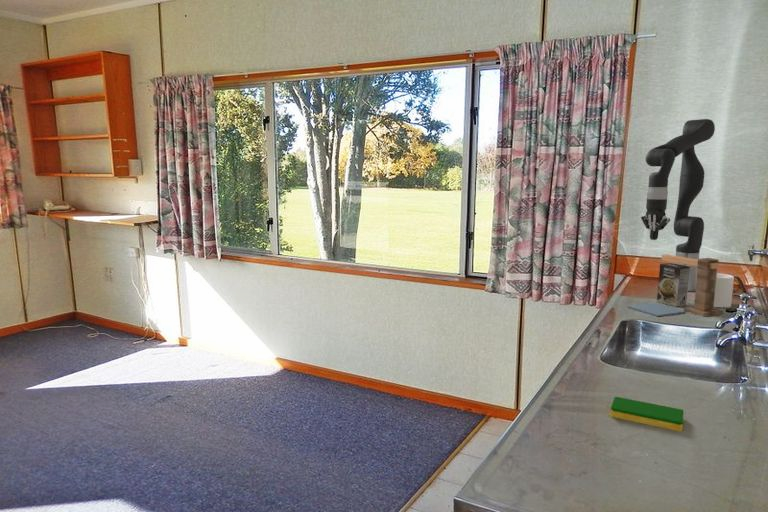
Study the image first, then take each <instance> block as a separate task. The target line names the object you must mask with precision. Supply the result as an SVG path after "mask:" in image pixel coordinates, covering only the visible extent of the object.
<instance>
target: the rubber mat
mask: <svg viewBox="0 0 768 512" xmlns="http://www.w3.org/2000/svg"><path fill="white" fill-rule="evenodd" d="M627 308H628V309H630V310H634V311H637V312H642V313H644V314H648V315H650V316H654V317H656V318H657V317H658V316H659V317H666V316H665V315H667V316H672V314H674V315H679V313H681V314H686V311H684V310H682V309H678V308H676V307H675V308H674V307H672V306H671V307H670V306H669V305H665V304H661V303H658V302H652V303H651V302H650V303H642V304H634V305H628V306H627Z"/></svg>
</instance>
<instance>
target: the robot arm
mask: <svg viewBox="0 0 768 512" xmlns="http://www.w3.org/2000/svg"><path fill="white" fill-rule="evenodd" d="M715 129H716V126H715V123H714V121H713V120H712V119H709V118H703V119H702V118H701V119H690V120H688V121H687V120H686V122H684V125H683V128H682V134H681V135H678V136H676V137H673V138H671V139H670V140H668V141H667V142H666V143H664V144H662V145H658V146H655V147H653V148H651V149H650V150H649V151H648V152H647V153H646V155H645V163H646V164H647V165H648V166H650V167H660V168H659V170H658V171H655V172H651V173H650V174H649V177H648V186H647V187H648V188H647V193H646V203H645V205H646V206H645V209H646V212H645V215H643V216H640V219H641V221H642V223H643V225H644V226H645V228H646V229H647V230H649V239H650V240H653V241H657V240H658V238H659V231H662V230H664V229H665V228H666V226H667V225H668V223H669V222H670V221H671V218H670V217H667V216H666V214H667V213H666V210H667V206H668V194H669V193H668V192H669V191H668V186H669V176H670V173H671V171H672V168H673V165H674V163H675V160H676V157H679V156H680V155H682V157H681V167H680V174H679V187H678V188H679V189H678V198H677V199H678V200H677V205H676V209H675V216H674V220H673V231H674V234H675V235H676V236H678V237H685V238H687V240H686V242H684V243H679V244H677V245H676V246H675V255H674V256H679V257H685V258H691V259H697V260H698V259H700V250H701V247H702V245H703V244H702V243H703V237H704V231H705V230H704V229H705V222H704V220H703V218H702V217H700V216H689V211H690V207H691V205H692V203H693V202H694V200H695V199H696V198H697V197H698V195H700V193H701V191H702V190H703V187H704V183H705V168H704V166H703V165H702V163H701V162H700V160H699V158H698V156H697V154H696V151H695V146H696V145H697V146H698V145H699V144H701V143H703V142H706V141H709V140H710V139H711V138H712V137H713V136H714V134H715V131H716V130H715ZM674 264H678V265H683V266H689V267H690V273H689V282H688V291H687V292H694V291H695V292H696V282H697V271H698V268H697V266H693V265H688V264H682V263H677V262H674Z"/></svg>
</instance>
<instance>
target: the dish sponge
mask: <svg viewBox="0 0 768 512" xmlns="http://www.w3.org/2000/svg"><path fill="white" fill-rule="evenodd" d="M610 415H611V416H610V417H611V418H616V419H621V420H626V421H631V422H635V423H640V424H645V425H650V426H654V427H658V428H662V429H667V430H672V431H676V432H682V431H683V425H684V424H683V423H684V410H683V409H681V408H676V407H672V406H666V405H660V404H655V403H651V402H646V401H639V400H637V399H636V400H634V399H631V398H630V399H629V398H625V397H619V396H614V398H613V401H612V404H611V406H610Z"/></svg>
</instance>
